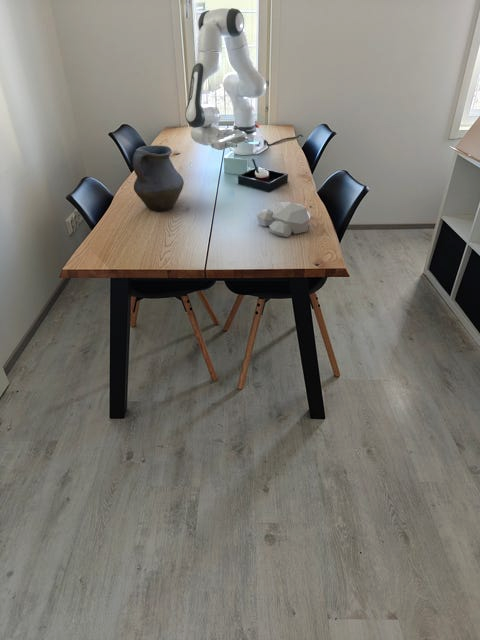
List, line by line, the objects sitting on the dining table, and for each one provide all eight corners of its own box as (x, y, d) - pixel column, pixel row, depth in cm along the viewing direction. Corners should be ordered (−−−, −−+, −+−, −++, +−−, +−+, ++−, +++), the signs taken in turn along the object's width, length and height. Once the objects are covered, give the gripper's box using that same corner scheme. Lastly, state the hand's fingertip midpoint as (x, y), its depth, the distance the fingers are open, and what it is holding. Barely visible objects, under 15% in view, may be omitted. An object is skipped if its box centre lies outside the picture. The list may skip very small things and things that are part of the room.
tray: (257, 175, 215) (257, 166, 213) (287, 182, 207) (288, 173, 204) (237, 184, 206) (237, 175, 203) (268, 192, 197) (269, 183, 194)
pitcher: (195, 203, 187) (191, 142, 172) (163, 222, 172) (155, 157, 157) (157, 194, 196) (150, 135, 181) (124, 211, 181) (113, 149, 166)
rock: (283, 242, 157) (284, 217, 151) (249, 224, 170) (249, 200, 164) (319, 229, 166) (322, 205, 160) (285, 212, 179) (286, 189, 173)
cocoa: (269, 180, 208) (269, 154, 201) (272, 184, 203) (273, 158, 196) (249, 181, 206) (249, 155, 199) (252, 186, 201) (252, 159, 194)
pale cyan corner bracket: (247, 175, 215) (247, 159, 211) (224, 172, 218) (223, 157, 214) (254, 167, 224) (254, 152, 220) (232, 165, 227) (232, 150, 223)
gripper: (204, 136, 201) (228, 141, 194) (232, 126, 214) (255, 131, 207) (205, 150, 205) (228, 155, 198) (232, 140, 217) (255, 144, 211)
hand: (242, 143), depth 202 cm, fingers open, 8 cm apart
